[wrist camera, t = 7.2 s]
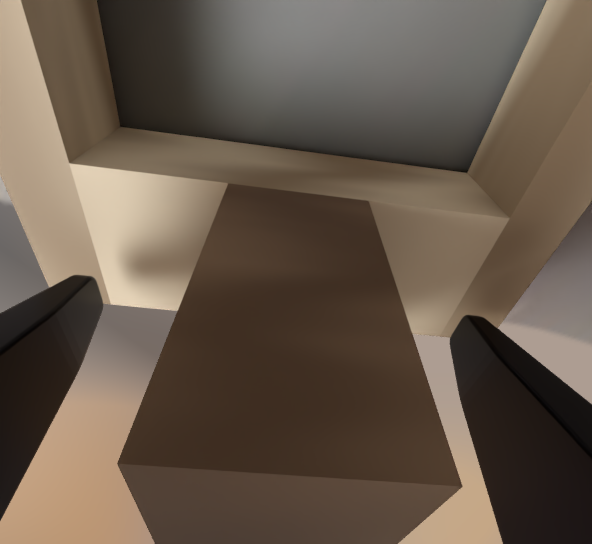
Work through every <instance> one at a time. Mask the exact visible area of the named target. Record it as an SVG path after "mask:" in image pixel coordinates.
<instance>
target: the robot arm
mask: <svg viewBox="0 0 592 544" xmlns="http://www.w3.org/2000/svg"><path fill="white" fill-rule="evenodd" d="M102 310H103V300H102V296H101V293H100V290H99V287H98V284H97V281H96V279H95V278H94V277H92V276H87V275H73V276H70V277H69V278H67V279H65V280H63V281H61V282H59V283H57V284H55V285H53V286H51V287H49V288H48V289H46V290H44V291H42V292H40V293H38V294H36V295H34V296H32V297H30V298H29V299H27V300H25V301H23V302H21V303H19V304H17V305H15V306H13V307H11V308H9V309H7V310H6V311H4V312H2V313H0V520H1V518H2V517H3V515H4V513H5V511H6V509H7V507H8V505H9V503H10V501H11V499H12V498H13V496H14V494H15V492H16V490H17V488H18V486H19V484H20V482H21V480H22V478H23V477H24V474H25V473H26V471H27V469H28V467H29V465H30V463H31V461H32V459H33V457H34V456H35V454H36V452H37V450H38V448H39V446H40V444H41V442H42V440H43V438H44V436H45V434H46V433H47V431H48V428H49V427H50V425H51V423H52V421H53V419H54V417H55V415H56V414H57V412H58V410H59V408H60V406H61V404H62V402H63V400H64V398H65V396H66V394H67V392H68V391H69V389H70V387H71V385H72V383H73V381H74V379H75V377H76V375H77V373H78V371H79V369H80V367H81V365H82V362H83V360H84V357H85V354H86V352H87V349H88V347H89V344H90V342H91V339H92V336H93V334H94V331H95V329H96V326H97V323H98V321H99V318H100V316H101V313H102ZM450 348H451V354H452V359H453V364H454V370H455V375H456V380H457V386H458V391H459V396H460V400H461V404H462V408H463V411H464V415H465V418H466V421H467V424H468V428H469V431H470V435H471V438H472V441H473V444H474V448H475V451H476V455H477V458H478V462H479V465H480V468H481V471H482V475H483V478H484V481H485V485H486V488H487V491H488V495H489V498H490V502H491V505H492V508H493V511H494V515H495V518H496V522H497V525H498V528H499V532H500V535H501V538H502V542H503V544H592V404H591V403H589V402H588V401H587V400H586V399H584V398H583V397H582V396H581V395H579V394H578V393H577V392H575V391H574V390H573V389H572V388H571V387H569V386H568V385H567V384H566V383H564V382H563V381H562V380H561V379H560V378H558V377H557V376H556V375H554V374H553V373H552V372H551V371H550V370H548V369H547V368H546V367H545V366H543V365H542V364H541V363H540V362H538V361H537V360H536V359H535V358H533V357H532V356H531V355H530V354H529V353H527V352H526V351H525V350H523V349H522V348H521V347H520V346H519V345H517V344H516V343H515V342H514V341H512V340H511V339H510V338H509V337H507V336H506V335H505V334H504V333H502V332H501V331H500V330H499V329H498V328H496V327H495V326H494V325H493V324H491V323H490V322H489V321H488V320H486V319H485V318H484V317H482V316H475V315H465V316H464V317H462V319H461V320H460V322H459V324H458V325H457V327H456V328H455V330H454V332H453V333H452V335H451V337H450Z"/></svg>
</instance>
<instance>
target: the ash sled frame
mask: <svg viewBox="0 0 592 544" xmlns="http://www.w3.org/2000/svg"><path fill="white" fill-rule="evenodd" d="M0 175H1V178H2V180H3V182H4V185H5V187H6V189H7V191H8V194H9V196H10V198H11V201H12V203H13V205H14V208H15V210H16V212H17V214H18V217H19V219H20V221H21V224H22V226H23V228H24V230H25V233H26V235H27V237H28V240H29V242H30V244H31V246H32V249H33V251H34V253H35V256H36V258H37V260H38V262H39V265H40V267H41V269H42V272H43V274H44V276H45V279H46V281H47V283H48V286H49V287H51V286H53V285H55V284H57V283H59V282H61V281H63V280H65V279H67V278H69V277H70V276H73V275H87V276H92V277H94V278H95V279H96V281H97V284H98V287H99V290H100V293H101V296H102V300H103V304H114V305H123V306H133V307H144V308H154V309H164V310H174V311H178V312H177V314H176V317H175V319H174V322H173V324H172V327H171V329H170V332H169V334H168V337H167V339H166V342H165V344H164V347H163V349H162V352H161V354H160V357H159V359H158V362H157V365H156V367H155V370H154V372H153V375H152V378H151V380H150V382H149V385H148V387H147V390H146V392H145V395H144V397H143V400H142V402H141V405H140V408H139V410H138V413H137V415H136V418H135V420H134V423H133V426H132V428H131V430H130V433H129V435H128V438H127V441H126V443H125V445H124V448H123V450H122V453H121V455H120V458H119V461H118V466H119V468H120V471H121V473H122V475H123V477H124V479H125V481H126V483H127V485H128V487H129V490H130V492H131V494H132V496H133V498H134V500H135V502H136V504H137V506H138V509H139V511H140V512H141V515H142V517H143V519H144V521H145V523H146V525H147V528H148V530H149V532H150V534H151V536H152V538H153V540H154V542H155V544H398V543H399V542H400V541H401V540H402V539H403V538H405V537H406V536H407V535H408V534H409V533H410V532H411V531H413V530H414V529H415V528H416V527H417V526H418V525H419V524H420V523H422V522H423V521H424V520H425V519H426V518H427V517H429V516H430V515H431V514H432V513H433V512H434V511H435V510H436V509H438V508H439V507H440V506H441V505H442V504H443V503H444V502H445V501H447V500H448V499H449V498H450V497H451V496H452V495H454V494H455V493H456V492H457V491H458V490H459V489H460V488H461V487H462V484H461V481H460V478H459V475H458V472H457V469H456V466H455V462H454V460H453V456H452V453H451V450H450V447H449V444H448V441H447V438H446V435H445V432H444V429H443V426H442V423H441V420H440V417H439V414H438V412H437V408H436V405H435V402H434V399H433V395H432V393H431V389H430V386H429V383H428V380H427V377H426V374H425V371H424V368H423V365H422V362H421V359H420V356H419V353H418V350H417V347H416V344H415V341H414V338H413V335H412V334H420V335H430V336H440V337H451V335H452V333H453V332H454V330H455V328H456V327H457V325H458V324H459V322H460V320H461V319H462V317H464V316H465V315H475V316H482V317H484V318H485V319H486V320H488V321H489V322H490V323H491V324H493V325H494V326H495V327H496V328H498V327H499V326H500V324H501V323H502V322H503V320H504V319H505V318H506V316H507V315H508V314H509V312H510V311H511V309H512V308H513V307H514V305H515V304H516V303H517V301H518V300H519V299H520V297H521V296H522V295H523V293H524V292H525V291H526V289H527V288H528V287H529V285H530V284H531V282H532V281H533V280H534V278H535V277H536V276H537V274H538V273H539V272H540V270H541V269H542V268H543V266H544V265H545V264H546V262H547V261H548V260H549V258H550V257H551V255H552V254H553V253H554V251H555V250H556V249H557V247H558V246H559V245H560V243H561V242H562V241H563V239H564V238H565V237H566V235H567V234H568V233H569V231H570V230H571V228H572V227H573V226H574V224H575V223H576V222H577V220H578V219H579V218H580V216H581V215H582V214H583V212H584V211H585V210H586V208H587V207H588V206H589V204H590V203H591V202H592V0H547V1H546V3H545V6H544V8H543V10H542V12H541V14H540V16H539V19H538V21H537V23H536V25H535V27H534V29H533V32H532V34H531V36H530V38H529V40H528V42H527V45H526V47H525V49H524V51H523V53H522V55H521V58H520V60H519V62H518V64H517V66H516V68H515V71H514V73H513V75H512V77H511V79H510V81H509V84H508V86H507V88H506V90H505V92H504V94H503V97H502V99H501V101H500V103H499V105H498V107H497V110H496V112H495V114H494V116H493V118H492V120H491V123H490V125H489V127H488V129H487V131H486V133H485V136H484V138H483V140H482V142H481V144H480V146H479V149H478V151H477V153H476V155H475V157H474V159H473V162H472V164H471V166H470V168H469V170H468V172H467V173H463V172H456V171H448V170H441V169H433V168H426V167H418V166H411V165H403V164H396V163H388V162H381V161H373V160H365V159H358V158H350V157H343V156H335V155H328V154H320V153H313V152H305V151H298V150H290V149H283V148H275V147H268V146H260V145H253V144H245V143H238V142H230V141H223V140H215V139H208V138H200V137H193V136H185V135H178V134H170V133H162V132H155V131H147V130H140V129H132V128H125V127H120V122H119V117H118V112H117V106H116V101H115V95H114V90H113V85H112V79H111V74H110V69H109V63H108V58H107V53H106V47H105V42H104V37H103V31H102V26H101V21H100V15H99V10H98V5H97V0H0Z"/></svg>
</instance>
